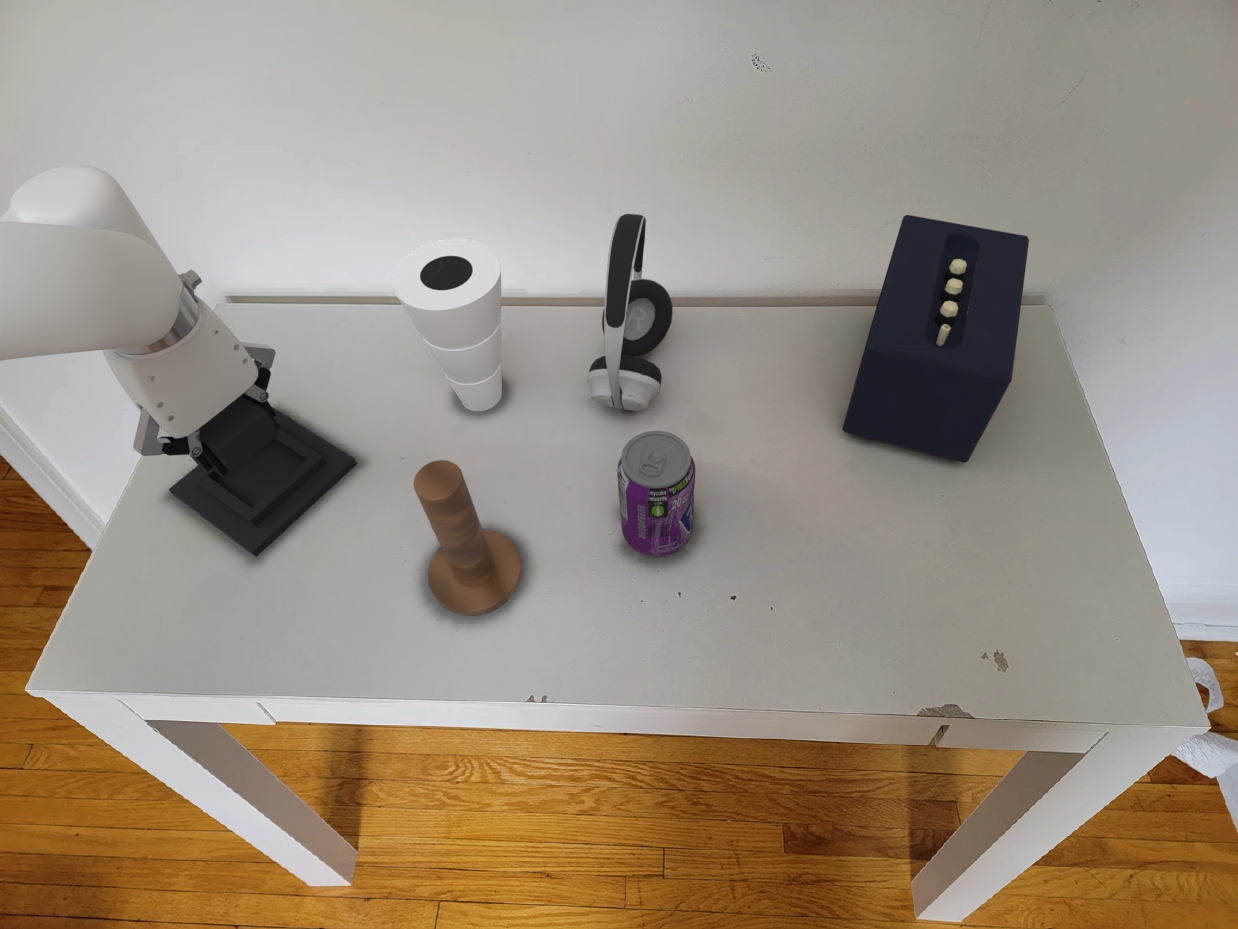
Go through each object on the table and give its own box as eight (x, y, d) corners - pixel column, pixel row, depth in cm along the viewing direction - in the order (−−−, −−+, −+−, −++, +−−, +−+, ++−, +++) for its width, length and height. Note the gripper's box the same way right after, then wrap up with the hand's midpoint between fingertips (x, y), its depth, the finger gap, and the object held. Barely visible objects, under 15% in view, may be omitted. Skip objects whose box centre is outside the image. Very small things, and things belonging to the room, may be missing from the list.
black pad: (233, 472, 75) (216, 451, 73) (195, 446, 78) (178, 424, 75) (280, 432, 78) (266, 410, 75) (242, 408, 80) (227, 385, 78)
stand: (480, 633, 71) (440, 545, 59) (411, 585, 75) (359, 492, 62) (540, 562, 76) (515, 466, 63) (472, 519, 79) (435, 420, 66)
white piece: (416, 407, 88) (368, 285, 74) (475, 350, 94) (441, 226, 79) (487, 445, 85) (451, 324, 70) (545, 384, 90) (522, 259, 75)
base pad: (256, 557, 77) (246, 546, 76) (172, 494, 83) (161, 482, 81) (357, 463, 84) (350, 451, 82) (274, 411, 89) (266, 398, 87)
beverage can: (675, 570, 74) (677, 501, 65) (610, 544, 76) (602, 474, 67) (702, 513, 78) (708, 440, 68) (639, 490, 80) (636, 416, 70)
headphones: (608, 317, 96) (598, 173, 80) (675, 321, 95) (678, 176, 79) (582, 436, 85) (564, 297, 69) (658, 442, 84) (657, 302, 68)
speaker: (875, 311, 94) (906, 205, 82) (984, 334, 91) (1033, 228, 79) (838, 441, 83) (868, 340, 71) (962, 473, 80) (1016, 374, 67)
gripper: (205, 244, 70) (283, 379, 84) (28, 361, 62) (149, 487, 76) (258, 273, 67) (330, 407, 81) (81, 399, 59) (196, 523, 73)
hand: (242, 445), depth 79 cm, fingers closed on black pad, 6 cm apart
